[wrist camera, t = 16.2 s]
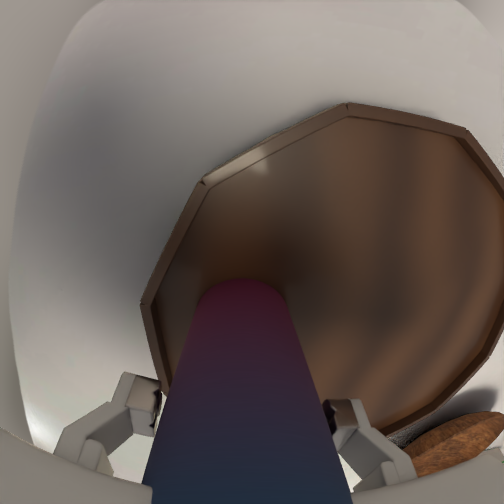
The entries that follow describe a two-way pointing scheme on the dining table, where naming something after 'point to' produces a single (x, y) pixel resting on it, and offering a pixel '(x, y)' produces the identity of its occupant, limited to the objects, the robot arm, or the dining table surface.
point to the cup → (244, 410)
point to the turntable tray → (351, 255)
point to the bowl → (454, 442)
